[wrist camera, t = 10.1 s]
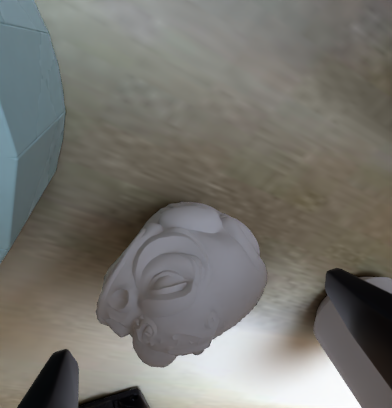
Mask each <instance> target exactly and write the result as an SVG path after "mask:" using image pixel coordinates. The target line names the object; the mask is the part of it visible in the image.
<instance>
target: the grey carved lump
mask: <svg viewBox="0 0 392 408" xmlns="http://www.w3.org/2000/svg"><path fill="white" fill-rule="evenodd" d="M259 256H260V249H259V245H258V243H257V240H256V238H255V237H254V235H253V234H252V232H251V231H250V230H249V229H248V228H247V227H246V226H245V225H244V224H243V223H241V222H240V221H239V220H237V219H236V218H232V217H230V216H229V215H227V214H225V213H224V214H222V213H221V212H219V211H218V210H216V209H214V208H213V207H211V206H208V205H206V204H202V203H197V202H183V201H181V202H180V203H176V204H175V203H172V204H168V205H167V207H165V208H161V209H160V210H159V211H158V212H156V213H155V214H154V215H153V216H152V217H151V218H150V219H149V220H148V221H147V222H146V223H145V225H144V226H143V228H142V229H141V230H140V232H139V233H138V235H137V236H136V237H135V238H134V240H133V241H132V242H131V243H130V245H129V246H128V247H127V248H126V249H125V250H124V252H123V253H122V254H121V256H120V257H119V258H118V259H117V260H116V261H115V262H114V263H113V264H112V265H111V266H110V268H109V269H108V271H107V274H106V275H105V277H104V283H103V287H102V292H101V294H100V297H99V299H98V302H97V310H96V315H97V319H98V320H99V322H100V323H101V324H104V325H107V326H110V328H111V329H112V330H113V331H114V332H115V333H116V334H117V335H118V336H119V337H124V336H126V335H128V334H130V335H131V337H133V348H134V350H135V351H136V353H137V355H138V357H139V358H140V359H141V360H142V362H144V363H145V364H147V365H149V366H152V367H166V366H168V365H169V364H170V363H172V362H173V361H174V360H175V358H176V356H178V355H187V354H191V353H192V354H194V355H199V354H201V353H202V352H203V351H204V349H206V348H208V347H209V346H210V343H211V340H212V339H215V338H216V337H217V336H220V335H221V334H222V333H223V332H225V331H227V330H228V329H230V328H231V327H233V326H235V325H236V324H237V323H238V322H240V321H241V320H242V318H244V317H245V316H246V315H247V314H249V312H250V311H251V310H252V309H253V308H254V306H255V305H257V302H258V301H259V299H260V297H261V296H262V294H263V291H264V288H265V286H266V284H267V270H266V267H265V263H264V262H263V261H262V260H261V258H260V257H259Z"/></svg>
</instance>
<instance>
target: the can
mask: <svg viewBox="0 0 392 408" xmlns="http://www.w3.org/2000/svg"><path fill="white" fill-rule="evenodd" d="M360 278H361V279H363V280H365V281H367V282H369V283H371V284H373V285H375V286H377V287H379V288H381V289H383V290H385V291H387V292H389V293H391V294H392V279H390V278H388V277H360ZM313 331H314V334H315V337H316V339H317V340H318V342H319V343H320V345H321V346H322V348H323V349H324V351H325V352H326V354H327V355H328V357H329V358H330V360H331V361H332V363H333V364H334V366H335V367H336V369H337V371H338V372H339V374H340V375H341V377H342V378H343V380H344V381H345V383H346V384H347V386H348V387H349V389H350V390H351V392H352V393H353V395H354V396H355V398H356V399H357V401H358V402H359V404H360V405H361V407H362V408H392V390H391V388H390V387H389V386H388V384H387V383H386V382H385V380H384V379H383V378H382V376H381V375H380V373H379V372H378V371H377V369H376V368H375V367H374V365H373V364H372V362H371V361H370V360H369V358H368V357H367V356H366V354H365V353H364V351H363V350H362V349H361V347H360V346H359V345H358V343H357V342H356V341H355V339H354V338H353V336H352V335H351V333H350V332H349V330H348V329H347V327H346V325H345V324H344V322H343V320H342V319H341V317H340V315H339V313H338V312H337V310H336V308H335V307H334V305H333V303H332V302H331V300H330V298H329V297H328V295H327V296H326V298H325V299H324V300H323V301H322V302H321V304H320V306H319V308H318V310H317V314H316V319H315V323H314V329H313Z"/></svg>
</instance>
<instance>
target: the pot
mask: <svg viewBox="0 0 392 408" xmlns="http://www.w3.org/2000/svg"><path fill="white" fill-rule="evenodd" d="M48 33H49V32H48V30H47V28H46V26H45V24H44V22H43V20H42V17H41V15H40V13H39V11H38V8H37V6H36V4H35V2H34V0H0V263H1V262H2V260H3V259H4V258H5V256H6V255H7V253H8V252H9V250H10V248H11V247H12V245H13V243H14V241H15V240H16V238H17V236H18V235H19V233H20V231H21V230H22V228H23V226H24V224H25V223H26V221H27V219H28V218H29V216H30V214H31V213H32V211H33V209H34V207H35V206H36V204H37V202H38V201H39V199H40V197H41V196H42V194H43V192H44V190H45V189H46V187H47V185H48V184H49V182H50V180H51V179H52V177H53V175H54V173H55V171H56V169H57V163H58V158H59V154H60V149H61V145H62V141H63V133H64V121H65V113H66V112H65V110H66V109H65V105H64V92H63V87H62V81H61V76H60V71H59V65H58V62H57V59H56V55H55V52H54V49H53V46H52V43H51V39H50V35H49V34H48Z"/></svg>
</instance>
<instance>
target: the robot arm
mask: <svg viewBox="0 0 392 408" xmlns="http://www.w3.org/2000/svg"><path fill="white" fill-rule="evenodd" d="M325 291H326V293H327V295H328V297H329V298H330V300H331V302H332V303H333V305H334V307H335V308H336V310H337V312H338V313H339V315H340V317H341V319H342V320H343V322H344V324H345V325H346V327H347V329H348V330H349V332H350V333H351V335H352V336H353V338H354V339H355V341H356V342H357V343H358V345H359V346H360V347H361V349H362V350H363V351H364V353H365V354H366V356H367V357H368V358H369V360H370V361H371V362H372V364H373V365H374V367H375V368H376V369H377V371H378V372H379V373H380V375H381V376H382V378H383V379H384V380H385V382H386V383H387V384H388V386H389V387H390V388H391V390H392V294H391V293H389V292H387V291H385V290H383V289H381V288H379V287H377V286H375V285H373V284H371V283H369V282H367V281H365V280H363V279H361V278H358V277H356V276H354V275H352V274H350V273H348V272H346V271H344V270H342V269H339V268H335V269H332V270H329V271H327V273H326V280H325ZM78 387H79V368H78V363H77V361H76V360H75V358H74V357H73V356H72V354H71V353H70V351H69V350H67V349H64V350H60V351H57V352H55V353H53V354H52V355H51V357H50V358H49V360H48V361H47V363H46V364H45V366H44V367H43V369H42V370H41V372H40V373H39V375H38V376H37V378H36V379H35V381H34V382H33V384H32V386H31V387H30V389H29V390H28V392H27V393H26V395H25V396H24V398H23V399H22V401H21V402H20V404H19V405H18V407H17V408H150V407H149V406H148V404H147V402H146V400H145V398H144V396H143V394H142V393H141V391H140V390H139V389H131V390H128V391H125V392H122V393H119V394H116V395H113V396H110V397H106V398H103V399H100V400H97V401H94V402H91V403H88V404H85V405H82V406H79V407H78Z"/></svg>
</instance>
